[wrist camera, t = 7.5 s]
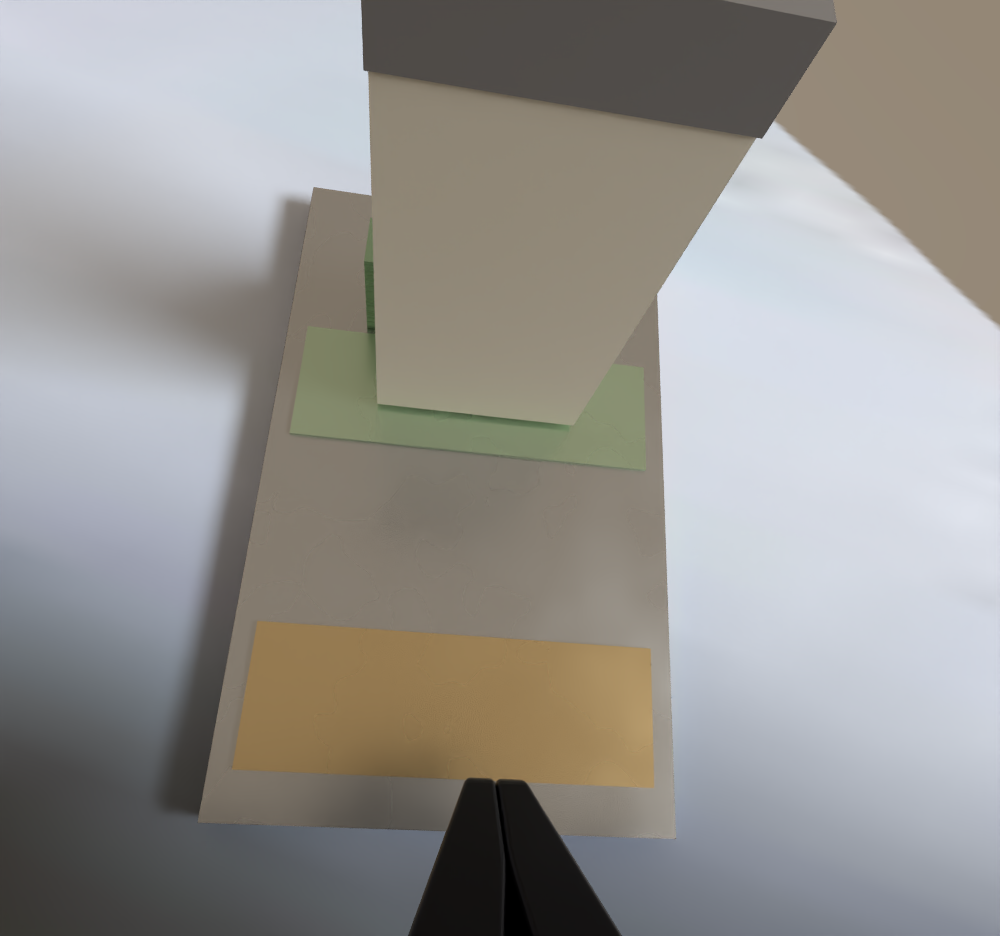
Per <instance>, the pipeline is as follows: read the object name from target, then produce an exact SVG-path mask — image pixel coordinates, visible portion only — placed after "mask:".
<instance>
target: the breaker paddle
mask: <svg viewBox="0 0 1000 936" xmlns="http://www.w3.org/2000/svg"><path fill="white" fill-rule="evenodd" d="M361 9H362V38H363V68H364V70H365V71H368V77H369V115H370V153H371V190H372V228H373V266H374V304H375V342H376V380H377V404H384V405H393V406H402V407H411V408H420V409H429V410H438V411H447V412H456V413H465V414H474V415H483V416H492V417H501V418H509V419H518V420H527V421H536V422H545V423H554V424H563V425H572V426H573V425H574V424H575V422H576V421H577V419H578V418H579V416H580V414H581V413H582V411H583V410H584V408H585V407H586V405H587V403H588V402H589V400H590V399H591V397H592V396H593V394H594V392H595V391H596V389H597V388H598V386H599V385H600V383H601V381H602V380H603V378H604V377H605V375H606V374H607V372H608V370H609V369H610V367H611V366H612V364H613V363H614V361H615V359H616V358H617V356H618V355H619V353H620V352H621V350H622V348H623V347H624V345H625V344H626V342H627V340H628V339H629V337H630V336H631V334H632V333H633V331H634V329H635V328H636V326H637V325H638V323H639V322H640V320H641V318H642V317H643V315H644V314H645V312H646V311H647V309H648V307H649V306H650V304H651V303H652V301H653V300H654V298H655V296H656V295H657V293H658V292H659V290H660V289H661V287H662V285H663V284H664V282H665V281H666V279H667V278H668V276H669V274H670V273H671V271H672V270H673V268H674V267H675V265H676V263H677V262H678V260H679V259H680V257H681V256H682V254H683V252H684V251H685V249H686V248H687V246H688V245H689V243H690V241H691V240H692V238H693V237H694V235H695V234H696V232H697V230H698V229H699V227H700V226H701V224H702V223H703V221H704V219H705V218H706V216H707V215H708V213H709V212H710V210H711V208H712V207H713V205H714V204H715V202H716V201H717V199H718V197H719V196H720V194H721V193H722V191H723V189H724V188H725V186H726V185H727V183H728V182H729V180H730V178H731V177H732V175H733V174H734V172H735V171H736V169H737V167H738V166H739V164H740V163H741V161H742V160H743V158H744V156H745V155H746V153H747V152H748V150H749V149H750V147H751V145H752V144H753V142H754V141H755V139H756V138H761V139H762V138H763V136H764V135H765V133H766V132H767V130H768V129H769V127H770V126H771V124H772V122H773V121H774V119H775V118H776V116H777V115H778V113H779V112H780V110H781V109H782V107H783V105H784V104H785V102H786V101H787V99H788V97H789V96H790V95H791V93H792V91H793V90H794V88H795V87H796V85H797V84H798V82H799V81H800V79H801V77H802V76H803V74H804V73H805V71H806V70H807V68H808V67H809V65H810V64H811V62H812V60H813V59H814V57H815V56H816V54H817V53H818V51H819V50H820V48H821V47H822V45H823V44H824V42H825V40H826V39H827V37H828V36H829V34H830V33H831V31H832V30H833V28H834V27H835V25H836V23H837V20H836V15H835V9H834V3H833V0H361Z"/></svg>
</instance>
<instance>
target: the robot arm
mask: <svg viewBox="0 0 1000 936" xmlns="http://www.w3.org/2000/svg"><path fill="white" fill-rule="evenodd" d="M408 936H622V935H621V933H620V932H619V930H618V929H617V927H616V925H615V924H614V922H613V921H612V919H611V917H610V916H609V914H608V913H607V911H606V909H605V908H604V906H603V904H602V903H601V901H600V900H599V898H598V896H597V895H596V893H595V892H594V890H593V888H592V887H591V885H590V884H589V882H588V880H587V879H586V877H585V875H584V874H583V872H582V871H581V869H580V867H579V866H578V864H577V863H576V861H575V859H574V858H573V856H572V855H571V853H570V851H569V850H568V848H567V846H566V845H565V843H564V842H563V840H562V838H561V837H560V835H559V834H558V832H557V830H556V829H555V827H554V825H553V824H552V822H551V821H550V819H549V817H548V816H547V814H546V813H545V811H544V809H543V808H542V806H541V805H540V803H539V801H538V800H537V798H536V796H535V795H534V793H533V792H532V790H531V788H530V787H529V785H528V784H527V783H526V782H525V781H523V780H517V779H499V780H497V781H496V783H495V782H494V780H493V779H490V778H472V777H470V778H467V779H466V780H465V781H464V784H463V786H462V789H461V792H460V795H459V797H458V800H457V803H456V806H455V808H454V811H453V814H452V817H451V819H450V822H449V825H448V828H447V830H446V833H445V836H444V839H443V841H442V844H441V847H440V850H439V852H438V855H437V858H436V860H435V863H434V866H433V869H432V871H431V874H430V877H429V880H428V882H427V885H426V888H425V891H424V893H423V896H422V899H421V902H420V904H419V907H418V910H417V913H416V915H415V918H414V921H413V924H412V926H411V929H410V932H409V935H408Z"/></svg>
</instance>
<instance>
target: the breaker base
mask: <svg viewBox="0 0 1000 936" xmlns="http://www.w3.org/2000/svg"><path fill="white" fill-rule="evenodd" d="M470 777H472V778H490V779H493V780H494V782H495V783H496V781H497V780H499V779H517V780H523V781H525V782H526V783H527V784H528V785H529V787H530V788H531V790H532V792H533V793H534V795H535V796H536V798H537V800H538V801H539V803H540V805H541V806H542V808H543V809H544V811H545V813H546V814H547V816H548V817H549V819H550V821H551V822H552V824H553V825H554V827H555V829H556V830H557V832H558V834H559V835H573V836H602V837H631V838H660V839H676V827H675V798H674V770H673V741H672V712H671V683H670V654H669V625H668V596H667V567H666V538H665V509H664V480H663V451H662V423H661V394H660V365H659V336H658V307H657V295H656V296H655V298H654V300H653V301H652V303H651V304H650V306H649V307H648V309H647V311H646V312H645V314H644V315H643V317H642V318H641V320H640V322H639V323H638V325H637V326H636V328H635V329H634V331H633V333H632V334H631V336H630V337H629V339H628V340H627V342H626V344H625V345H624V347H623V348H622V350H621V352H620V353H619V355H618V356H617V358H616V359H615V361H614V363H613V364H612V366H611V367H610V369H609V370H608V372H607V374H606V375H605V377H604V378H603V380H602V381H601V383H600V385H599V386H598V388H597V389H596V391H595V392H594V394H593V396H592V397H591V399H590V400H589V402H588V403H587V405H586V407H585V408H584V410H583V411H582V413H581V414H580V416H579V418H578V419H577V421H576V422H575V424H574V425H573V426H572V425H563V424H554V423H545V422H536V421H527V420H518V419H509V418H501V417H492V416H483V415H474V414H465V413H456V412H447V411H438V410H429V409H420V408H411V407H402V406H393V405H384V404H377V380H376V342H375V304H374V266H373V228H372V196H370V195H363V194H356V193H349V192H343V191H336V190H329V189H323V188H316V187H314V188H313V194H312V199H311V205H310V210H309V216H308V221H307V227H306V232H305V238H304V243H303V249H302V254H301V260H300V265H299V270H298V276H297V281H296V287H295V292H294V298H293V303H292V309H291V314H290V320H289V325H288V331H287V336H286V342H285V347H284V353H283V358H282V363H281V369H280V374H279V380H278V385H277V391H276V396H275V402H274V407H273V413H272V418H271V424H270V429H269V435H268V440H267V446H266V451H265V457H264V462H263V467H262V473H261V478H260V484H259V489H258V495H257V500H256V506H255V511H254V517H253V522H252V528H251V533H250V539H249V544H248V550H247V555H246V561H245V566H244V571H243V577H242V582H241V588H240V593H239V599H238V604H237V610H236V615H235V621H234V626H233V632H232V637H231V643H230V648H229V654H228V659H227V665H226V670H225V675H224V681H223V686H222V692H221V697H220V703H219V708H218V714H217V719H216V725H215V730H214V736H213V741H212V747H211V752H210V758H209V763H208V768H207V774H206V779H205V785H204V790H203V796H202V801H201V807H200V812H199V818H198V823H223V824H252V825H281V826H310V827H339V828H369V829H398V830H427V831H446V830H447V828H448V825H449V822H450V819H451V817H452V814H453V811H454V808H455V806H456V803H457V800H458V797H459V795H460V792H461V789H462V786H463V784H464V781H465V780H466V779H467V778H470Z"/></svg>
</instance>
